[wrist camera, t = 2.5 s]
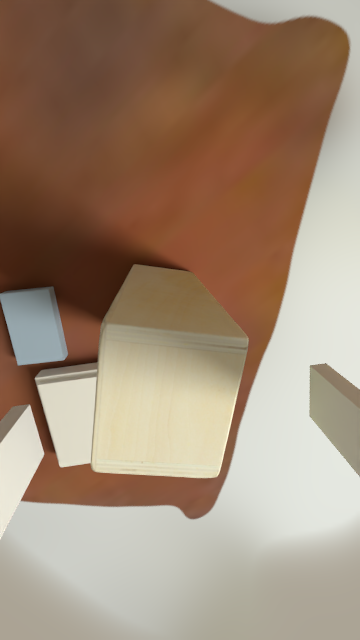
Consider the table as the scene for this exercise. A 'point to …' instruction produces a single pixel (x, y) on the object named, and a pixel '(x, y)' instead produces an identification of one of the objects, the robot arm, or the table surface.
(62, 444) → the podium
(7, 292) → the book
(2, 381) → the table surface
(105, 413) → the tall cream block
